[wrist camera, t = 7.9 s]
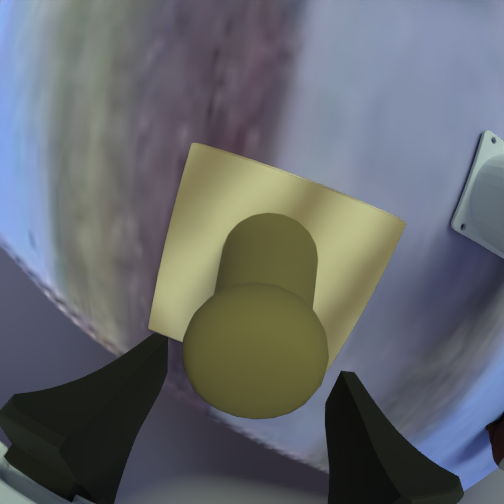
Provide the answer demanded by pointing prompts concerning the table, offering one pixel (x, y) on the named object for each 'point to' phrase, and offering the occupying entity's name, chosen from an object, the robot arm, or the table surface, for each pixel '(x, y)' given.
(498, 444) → the mate gourd
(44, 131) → the table surface
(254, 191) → the birch base board
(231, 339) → the cork
